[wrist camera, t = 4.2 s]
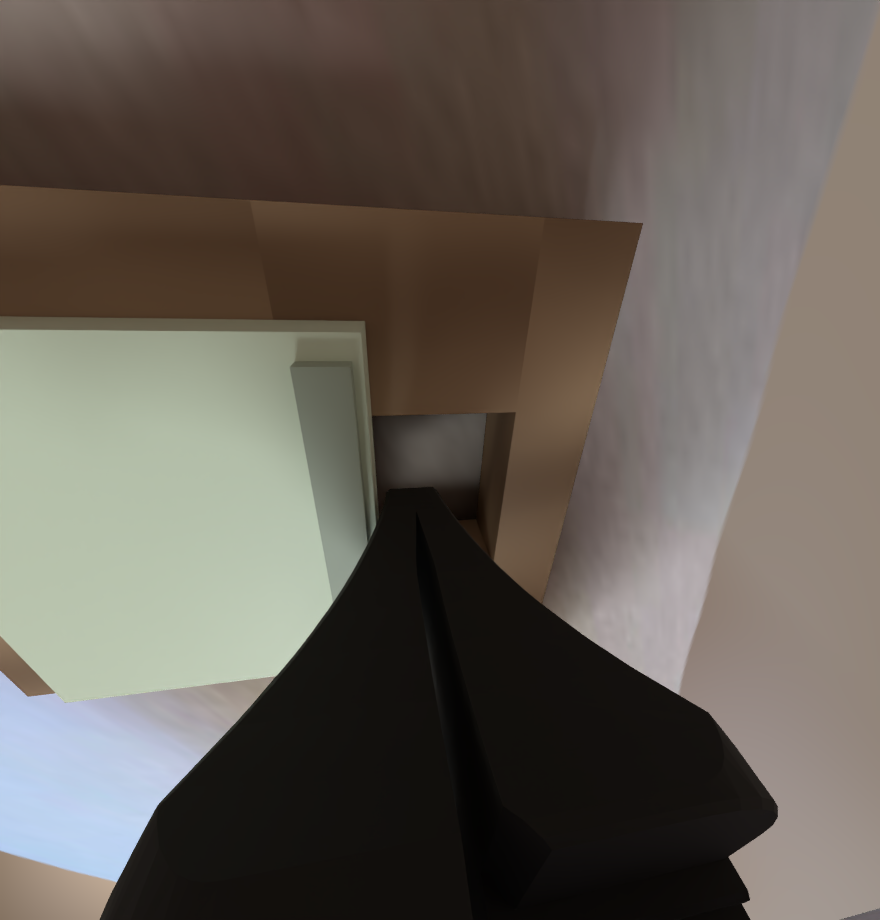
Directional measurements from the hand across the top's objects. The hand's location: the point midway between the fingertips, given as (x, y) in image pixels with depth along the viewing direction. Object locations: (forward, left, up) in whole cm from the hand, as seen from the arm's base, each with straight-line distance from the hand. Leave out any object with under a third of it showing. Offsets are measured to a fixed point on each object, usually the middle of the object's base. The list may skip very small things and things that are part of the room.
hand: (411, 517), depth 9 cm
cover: (0, +5, -1) cm, 5 cm away
